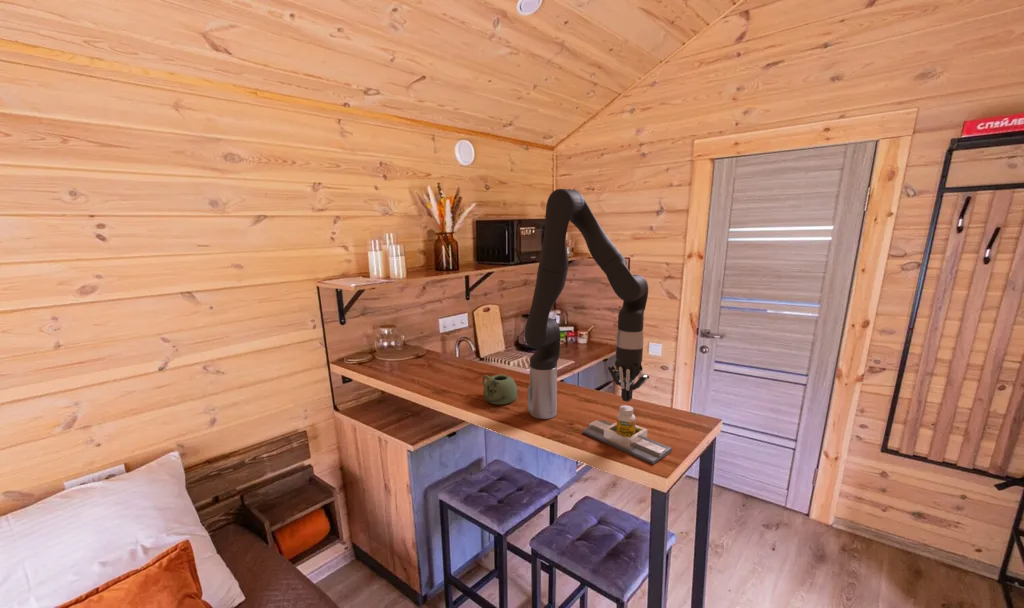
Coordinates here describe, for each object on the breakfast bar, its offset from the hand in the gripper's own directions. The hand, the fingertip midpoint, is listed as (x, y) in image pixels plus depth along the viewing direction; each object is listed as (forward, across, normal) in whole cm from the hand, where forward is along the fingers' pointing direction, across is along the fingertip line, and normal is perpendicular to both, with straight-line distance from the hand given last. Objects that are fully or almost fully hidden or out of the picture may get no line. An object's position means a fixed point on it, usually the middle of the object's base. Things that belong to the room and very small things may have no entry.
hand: (626, 400), depth 123 cm
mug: (+13, -50, -9) cm, 52 cm away
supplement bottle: (+12, +1, -1) cm, 12 cm away
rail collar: (+12, +1, -1) cm, 12 cm away
